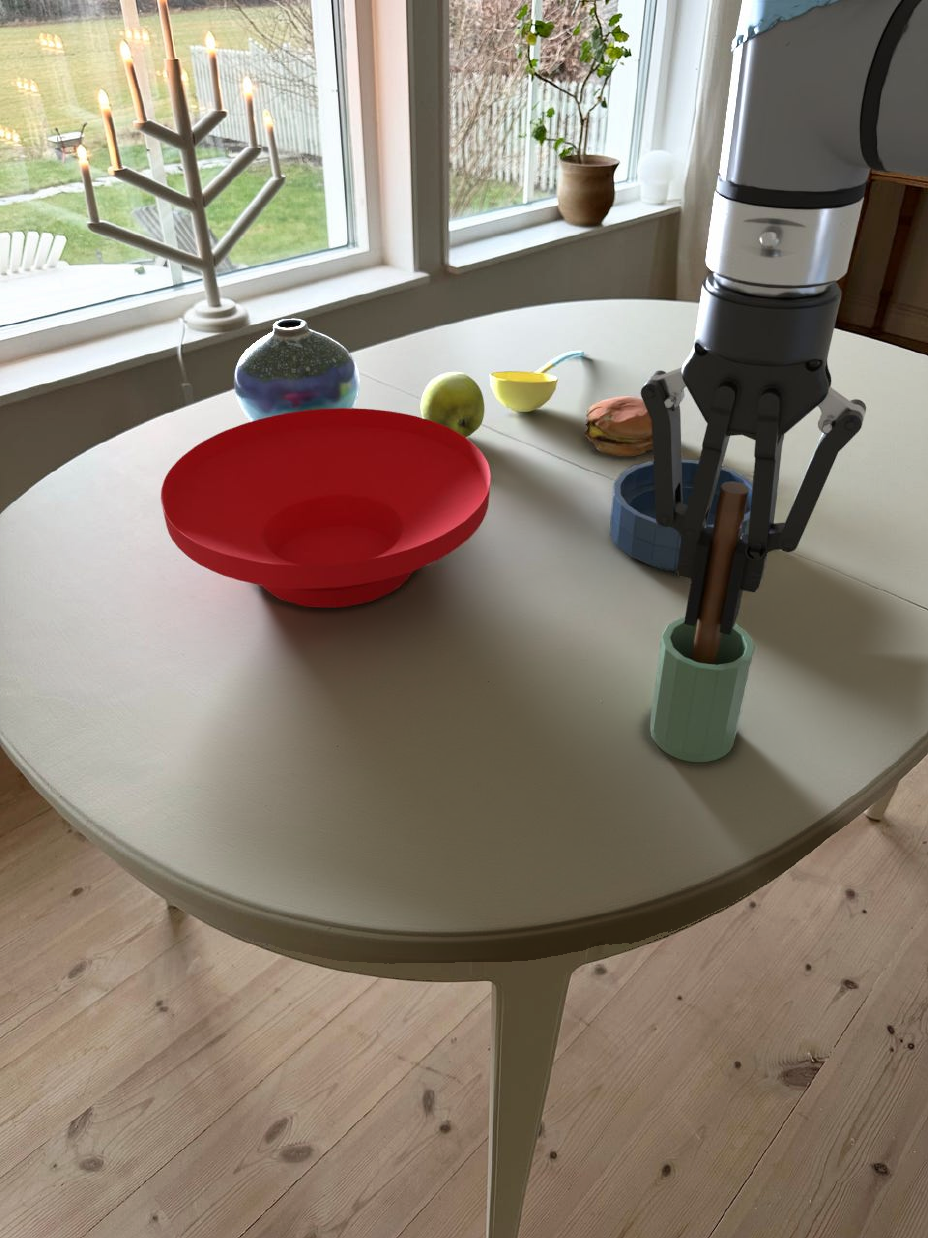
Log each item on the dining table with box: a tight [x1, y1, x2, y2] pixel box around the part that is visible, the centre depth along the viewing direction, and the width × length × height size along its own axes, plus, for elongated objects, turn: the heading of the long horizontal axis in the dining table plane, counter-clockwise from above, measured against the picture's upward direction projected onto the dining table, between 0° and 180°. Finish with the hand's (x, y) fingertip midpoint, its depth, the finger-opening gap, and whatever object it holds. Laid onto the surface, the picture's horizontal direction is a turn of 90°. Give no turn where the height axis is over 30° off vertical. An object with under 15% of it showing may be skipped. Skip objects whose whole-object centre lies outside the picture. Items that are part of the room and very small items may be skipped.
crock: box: [649, 616, 756, 763], centre depth 69 cm, size 6×6×9 cm
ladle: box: [489, 350, 585, 413], centre depth 127 cm, size 9×26×6 cm, turn 154°
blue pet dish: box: [609, 459, 753, 573], centre depth 93 cm, size 14×14×6 cm
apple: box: [420, 371, 485, 438], centre depth 113 cm, size 8×9×8 cm
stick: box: [691, 482, 749, 665], centre depth 65 cm, size 2×3×20 cm, turn 155°
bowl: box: [160, 407, 492, 608], centre depth 89 cm, size 30×30×10 cm
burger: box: [583, 395, 653, 458], centre depth 112 cm, size 10×9×5 cm
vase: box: [233, 318, 360, 422], centre depth 114 cm, size 15×15×13 cm
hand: (711, 618), depth 65 cm, fingers closed on stick, 2 cm apart
